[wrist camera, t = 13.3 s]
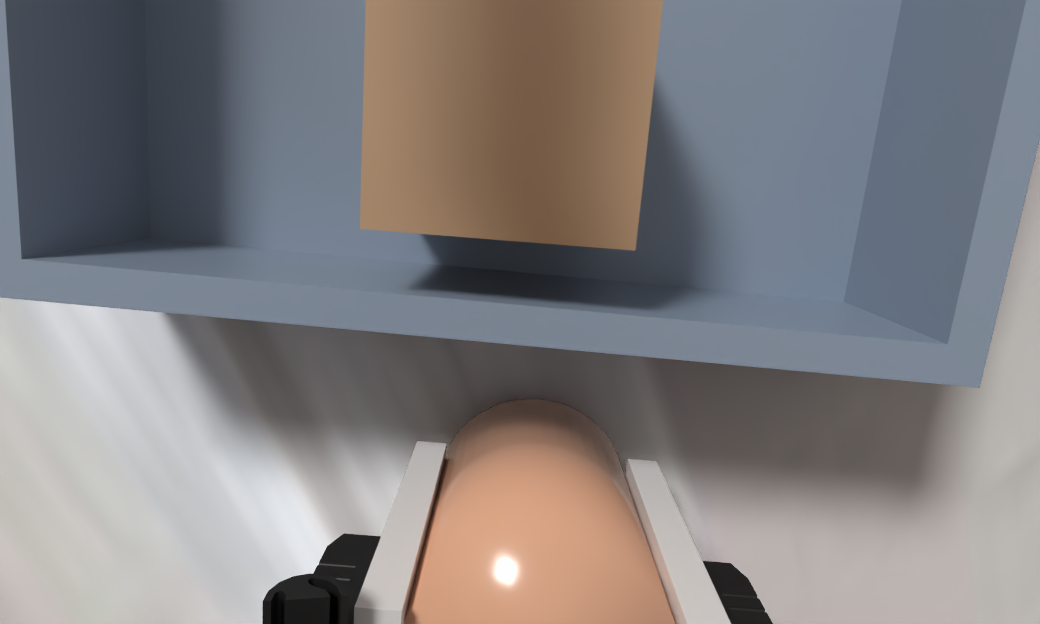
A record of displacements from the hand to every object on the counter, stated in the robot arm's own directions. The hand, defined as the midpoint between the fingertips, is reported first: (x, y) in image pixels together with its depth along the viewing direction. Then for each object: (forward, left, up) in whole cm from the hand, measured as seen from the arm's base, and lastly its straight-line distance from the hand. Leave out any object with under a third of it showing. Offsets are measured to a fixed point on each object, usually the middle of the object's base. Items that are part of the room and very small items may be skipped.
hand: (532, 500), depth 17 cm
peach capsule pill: (0, 0, -1) cm, 1 cm away
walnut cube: (-1, +10, -1) cm, 10 cm away
